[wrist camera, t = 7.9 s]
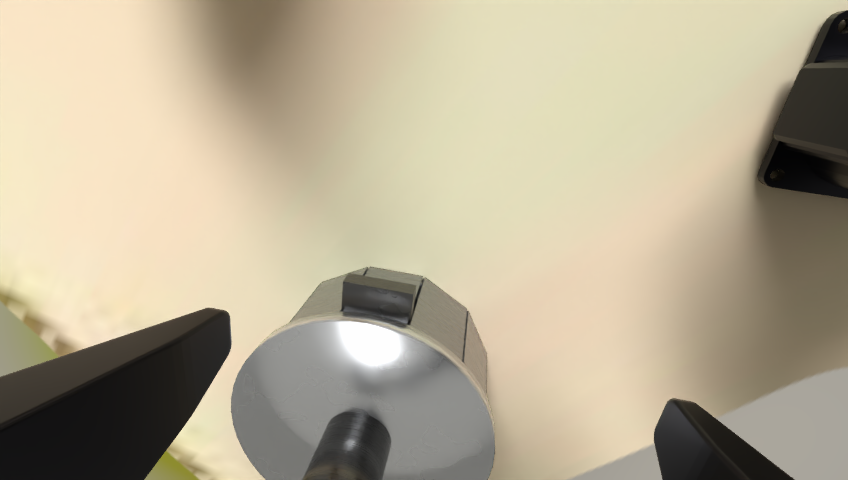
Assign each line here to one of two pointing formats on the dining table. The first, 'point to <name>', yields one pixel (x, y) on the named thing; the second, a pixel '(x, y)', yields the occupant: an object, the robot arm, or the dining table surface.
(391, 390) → the lid
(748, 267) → the dining table surface
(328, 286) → the grey low hollow cylinder
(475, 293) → the dining table surface
